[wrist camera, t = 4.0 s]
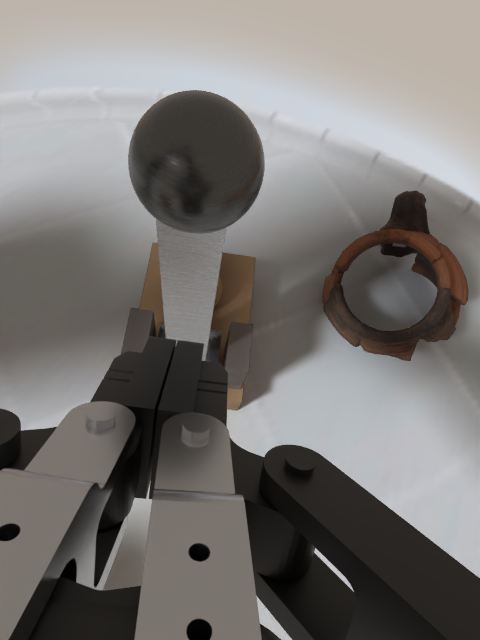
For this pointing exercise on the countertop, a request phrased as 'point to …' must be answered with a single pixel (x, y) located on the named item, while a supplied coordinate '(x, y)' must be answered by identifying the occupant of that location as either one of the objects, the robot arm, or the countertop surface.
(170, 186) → the lever
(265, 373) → the countertop surface
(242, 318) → the nutcracker base
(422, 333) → the pottery mug
